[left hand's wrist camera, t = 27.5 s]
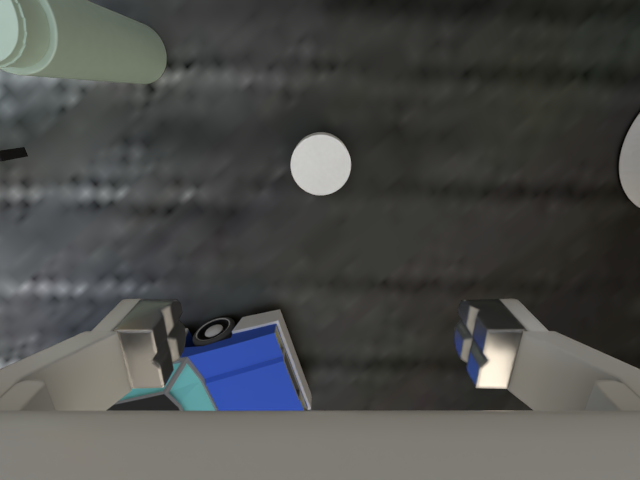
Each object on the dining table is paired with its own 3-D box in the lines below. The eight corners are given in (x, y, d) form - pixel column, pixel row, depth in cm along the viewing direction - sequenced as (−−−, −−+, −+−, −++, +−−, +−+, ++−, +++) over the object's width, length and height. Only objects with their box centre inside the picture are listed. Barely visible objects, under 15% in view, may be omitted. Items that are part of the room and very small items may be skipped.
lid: (304, 122, 35) (303, 124, 32) (358, 145, 35) (360, 148, 33) (284, 177, 37) (282, 182, 34) (335, 197, 37) (336, 203, 35)
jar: (166, 88, 34) (32, 81, 18) (112, 78, 33) (-75, 61, 18) (167, 28, 32) (18, -40, 16) (109, 16, 31) (-101, -64, 16)
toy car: (312, 386, 47) (310, 457, 37) (108, 428, 50) (59, 504, 40) (281, 299, 42) (270, 357, 33) (56, 352, 45) (-13, 418, 35)
